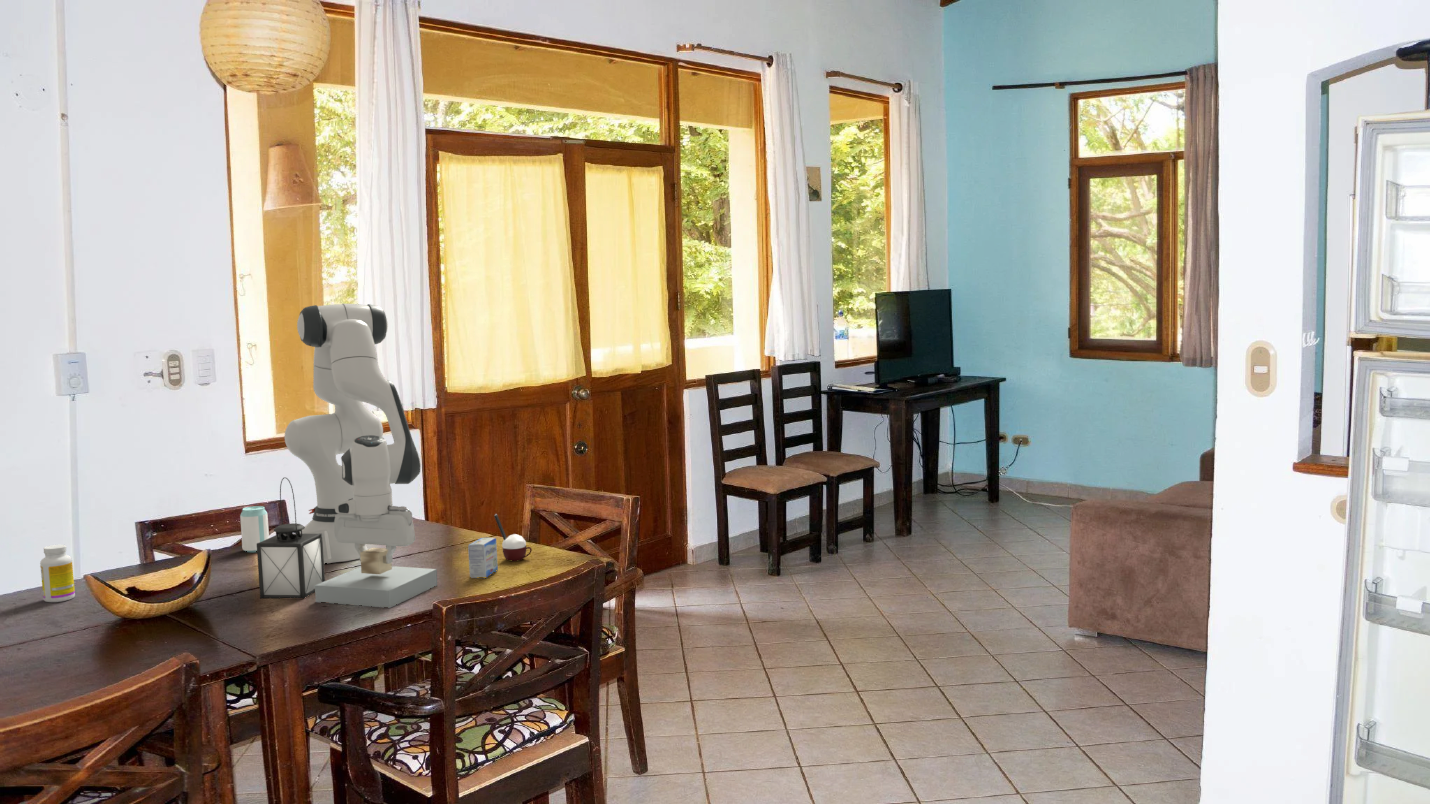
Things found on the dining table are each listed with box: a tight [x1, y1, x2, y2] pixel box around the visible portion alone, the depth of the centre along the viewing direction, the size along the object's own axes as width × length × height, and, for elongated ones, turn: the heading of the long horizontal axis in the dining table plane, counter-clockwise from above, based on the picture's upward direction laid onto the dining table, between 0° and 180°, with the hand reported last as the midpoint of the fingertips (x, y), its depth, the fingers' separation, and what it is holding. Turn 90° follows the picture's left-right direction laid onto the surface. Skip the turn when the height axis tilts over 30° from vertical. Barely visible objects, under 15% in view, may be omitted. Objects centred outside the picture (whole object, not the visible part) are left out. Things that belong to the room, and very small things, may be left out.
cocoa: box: [493, 513, 533, 562], centre depth 305 cm, size 10×6×12 cm, turn 62°
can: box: [239, 505, 270, 553], centre depth 322 cm, size 7×7×12 cm
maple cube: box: [360, 547, 393, 574], centre depth 274 cm, size 5×5×5 cm
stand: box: [314, 565, 438, 609], centre depth 275 cm, size 20×20×4 cm
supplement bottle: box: [39, 544, 76, 603], centre depth 275 cm, size 7×7×13 cm
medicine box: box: [467, 537, 499, 579], centre depth 290 cm, size 8×4×9 cm, turn 169°
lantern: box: [256, 477, 326, 599], centre depth 276 cm, size 11×11×28 cm
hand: (376, 562), depth 274 cm, fingers closed on maple cube, 5 cm apart
